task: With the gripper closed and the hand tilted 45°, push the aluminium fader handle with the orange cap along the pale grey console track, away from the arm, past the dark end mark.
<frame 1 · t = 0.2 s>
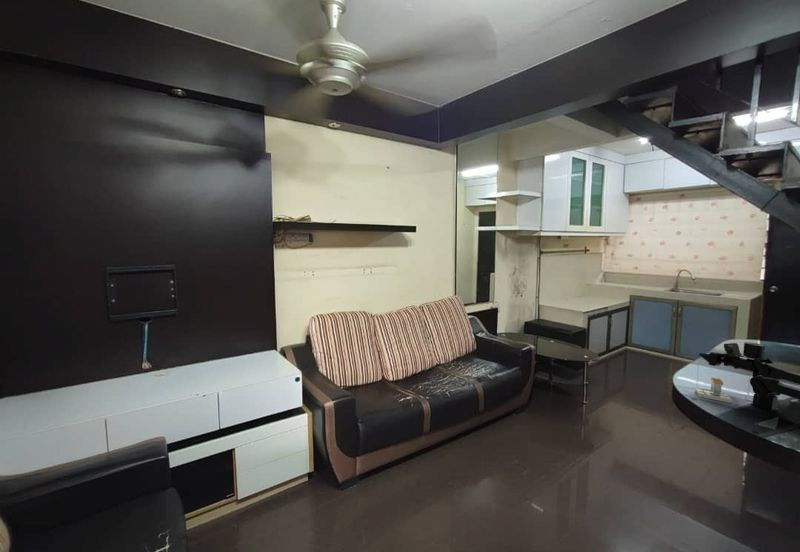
hand: (705, 354, 178), 16 cm above the table, tool horizontal, fingers open, 9 cm apart
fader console: (714, 397, 163), on the table
fader handle: (716, 386, 163), point 5 cm above the table, slide at 0.0 cm
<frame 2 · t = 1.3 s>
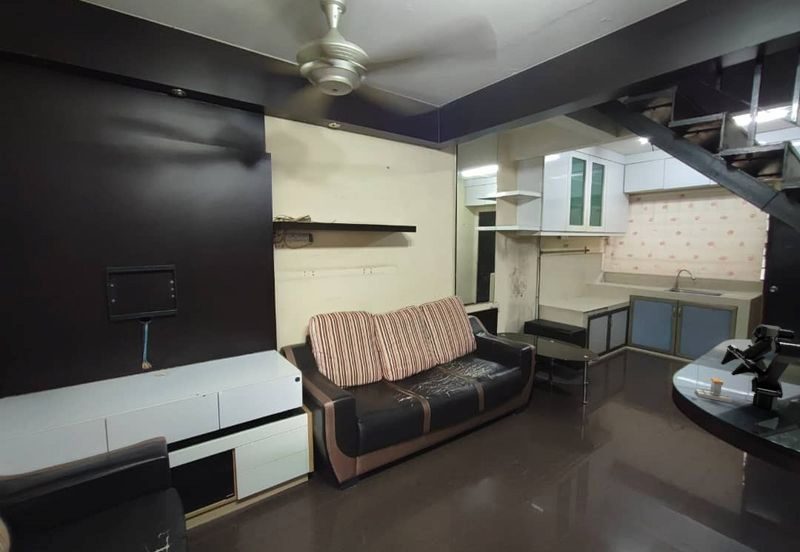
hand: (726, 369, 168), 12 cm above the table, tool tilted 40°, fingers open, 9 cm apart
nothing on the table moved.
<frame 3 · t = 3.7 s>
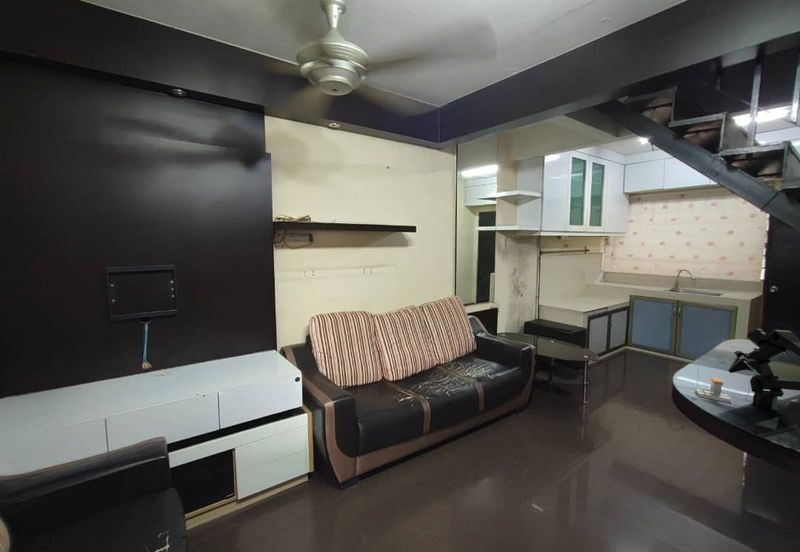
hand: (729, 371, 160), 13 cm above the table, tool tilted 45°, fingers closed
nothing on the table moved.
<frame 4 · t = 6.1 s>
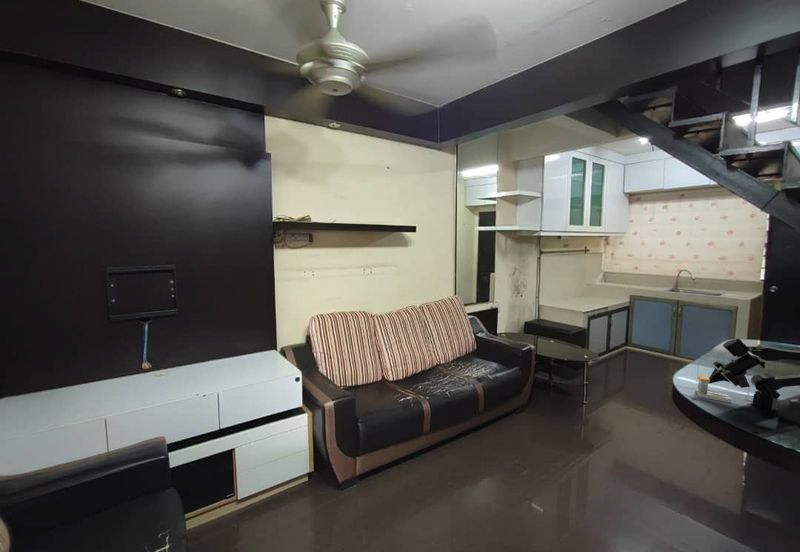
hand: (707, 382, 164), 6 cm above the table, tool tilted 45°, fingers closed
fader handle: (703, 384, 165), point 5 cm above the table, slide at 4.7 cm, touching gripper
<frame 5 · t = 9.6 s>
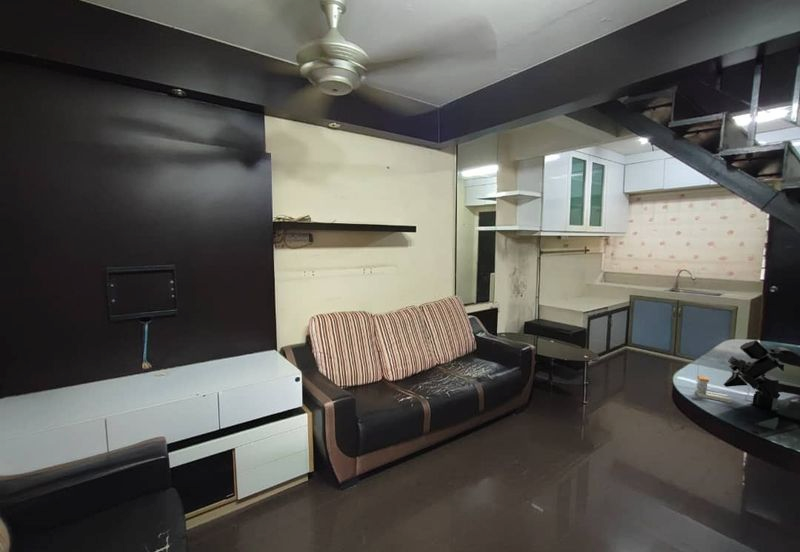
hand: (724, 385, 161), 6 cm above the table, tool tilted 45°, fingers closed
fader handle: (702, 384, 165), point 5 cm above the table, slide at 5.1 cm
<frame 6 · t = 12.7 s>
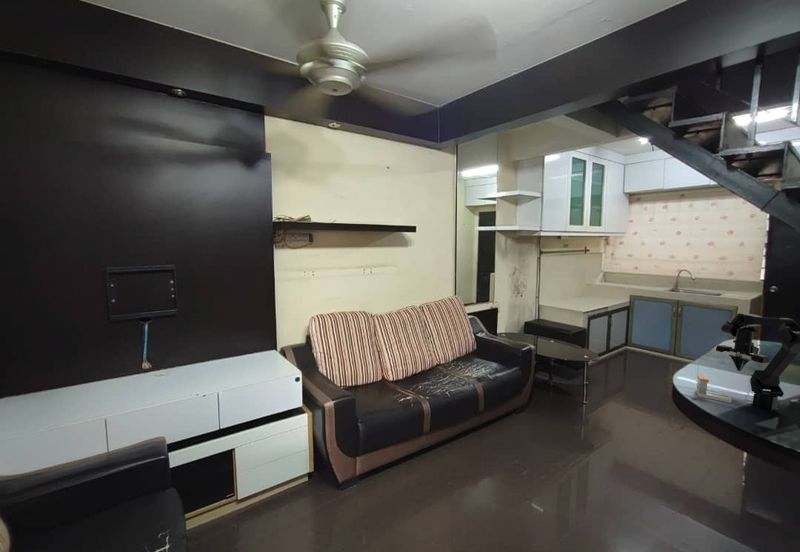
hand: (739, 370, 169), 11 cm above the table, tool pointing down, fingers closed
nothing on the table moved.
at the end: fader handle slide at 5.1 cm; the gripper is holding nothing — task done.
